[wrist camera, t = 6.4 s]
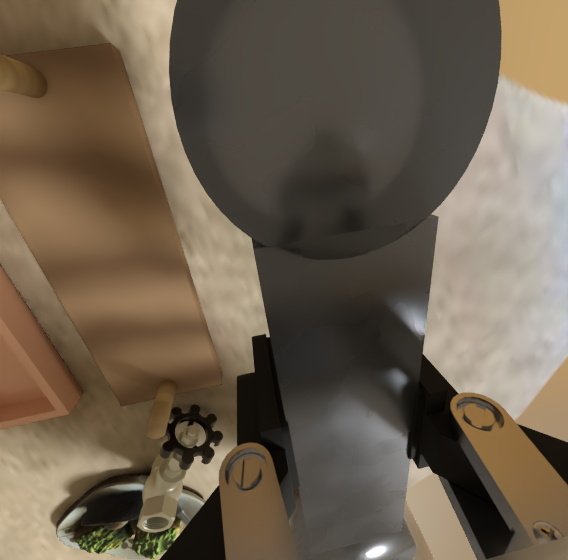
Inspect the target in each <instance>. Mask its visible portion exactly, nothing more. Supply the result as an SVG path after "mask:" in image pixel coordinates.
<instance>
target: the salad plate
mask: <svg viewBox="0 0 568 560" xmlns="http://www.w3.org/2000/svg"><path fill="white" fill-rule="evenodd" d="M148 477H149V475H143V474H130V475H122V476H116V477H113V478H110V479H107V480H105V481H103V482H101V483H100V484H98V485H97V486H95V487H94V488H92V489H91V490H89V491H88V492H87V493H86V494H85V495H84V496H82V497H81V498H80V499H79V500H78V501H76V502H75V503H74V504H73V505H72V506H71V507H70V508H69V509H68V510H67V511H66V512H65V513H64V515H63V516H62V517H61V519H60V520H59V521H58V523H57V529H56V534H57V537H58V538H59V539H60V540H61V541H62V542H63V544H65V545H67V546H69V547H73V548H77V549H81V550H86V551H87V552H89V553H93V552H96V553H98V554H101V553H108V554H111V555H114V556H119V557H123V558H128V559H146V558H150V559H152V558H153V559H155V557H157V556H158V555H161V554H164V553H165V552H166V551H167V550H168V548H169V547H170V546H171V545H172V543H173V542H174V541H175V540H176V538H177V537H178V536H179V535H180V533H181V532H182V531H183V530H184V528H185V527H186V526H187V525H188V523H189V522H190V521H191V520H192V518H193V517H194V516H195V514H196V513H197V512H198V511H199V509H200V508H201V507H202V506H203V504H204V503H205V502H206V501H204V500H203V499H202V498H200V497H199V496H197V495H196V494H194V493H193V492H190V491H187V490H185V489H182V493H181V496H180V498H179V500H178V504H177V510H176V516H175V520H174V522H173V524H172V526H171V527H170V528H168V529H166V530H164V531H161V532H146V531H143V530H141V529H140V528H139V527H137V524H138V520H139V516H140V512H141V509H142V507H143V505H144V504H143V499H142V493H143V488H144V485H145V482H146V480H147V479H148ZM133 534H135V537H134V538H131V536H132V535H133Z"/></svg>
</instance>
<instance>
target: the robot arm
mask: <svg viewBox="0 0 568 560" xmlns="http://www.w3.org/2000/svg"><path fill="white" fill-rule="evenodd" d="M252 344H253V356H254V368H255V372H254V373H249V374H244V375H240V376H237V447H235V448H234V449H233V450H232V451H231V452H229V453H228V454H227V456H226V457H225V459H224V460H223V462H222V465H221V467H220V470H219V486H218V487H217V488H216V489H215V491H214V492H213V493H212V494H211V496H210V497H209V498H208V499H207V501H206V502H205V503H204V504H203V506H202V507H201V508H200V509H199V511H198V512H197V513H196V514H195V516H194V517H193V518H192V520H191V521H190V522H189V523H188V525H187V526H186V527H185V528H184V530H183V531H182V532H181V533H180V535H179V536H178V537H177V538H176V540H175V541H174V542H173V543H172V545H171V546H170V547H169V548H168V550H167V551H166V552H165V553H164V555H163V556H162V557H161V558H160V560H299V558H298V554H297V550H296V546H295V543H294V539H293V535H292V531H291V528H290V524H289V519H290V517H291V515H292V513H293V512H294V510H295V508H296V504H295V495H294V489H293V488H296V487H300V484H299V479H298V473H297V468H296V462H295V457H294V451H293V446H292V440H291V435H290V430H289V424H288V421H287V422H286V419H285V413H284V408H283V403H282V397H281V392H280V387H279V381H278V376H277V371H276V366H275V360H274V355H273V350H272V344H271V339H270V337H268V338H267V337H266V334H264V335H259V336H254V337H252ZM408 459H413V460H414V462H415V464H416V465H417V467H418V469H420V468H424V467H428V466H429V467H430V469H431V470H432V472H433V473H435V474H437V475H439V478H440V481H441V483H442V485H443V487H444V489H445V492H446V494H447V496H448V498H449V500H450V502H451V504H452V507H453V509H454V511H455V513H456V515H457V517H458V519H459V521H460V524H461V526H462V528H463V530H464V532H465V534H466V537H467V539H468V541H469V543H470V545H471V547H472V549H473V551H474V554H475V555H476V558H477V560H568V442H565V441H562V440H559V439H557V438H554V437H551V436H549V435H546V434H543V433H540V432H537V431H535V430H532V429H529V428H527V427H524V426H521V425H518V424H516V422H515V421H514V420H513V419H512V418H511V416H510V415H509V414H508V413H507V412H506V410H505V409H504V408H502V407H501V406H500V405H499V404H498V403H497V402H495V401H493V400H492V399H490V398H488V397H486V396H483V395H480V394H476V393H461V394H458V393H457V392H456V390H455V389H454V388H453V387H452V386H451V385H450V384H449V383H448V382H447V380H446V379H445V378H444V377H443V376H442V375H441V374H440V373H439V372H438V370H437V369H436V368H435V367H434V366H433V365H432V364H431V363H430V361H429V360H428V359H427V358H426V357H425V356H424V355H423V354H422V362H421V370H420V379H419V387H418V392H415V400H414V409H413V418H412V427H411V436H410V445H409V454H408ZM403 517H404V519H405V522H406V524H407V526H408V528H409V531H410V533H411V535H412V537H413V539H414V542H415V544H416V553H415V555H414V557H413V559H412V560H435V559H434V557H433V555H432V553H431V551H430V549H429V547H428V545H427V543H426V541H425V538H424V536H423V534H422V532H421V530H420V528H419V526H418V524H417V522H416V520H415V518H414V516H413V514H412V511H411V509H410V507H409V505H408V503H407V501H406V499H405V507H404V515H403Z"/></svg>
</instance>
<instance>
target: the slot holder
mask: <svg viewBox="0 0 568 560" xmlns="http://www.w3.org/2000/svg"><path fill="white" fill-rule="evenodd" d="M82 394H83V391H82V389H81V388H80V386H79V385H78V383H77V382H76V380H75V378H74V377H73V375H72V374H71V372H70V371H69V369H68V368H67V366H66V365H65V363H64V361H63V360H62V358H61V357H60V355H59V354H58V352H57V351H56V349H55V348H54V346H53V345H52V343H51V341H50V340H49V338H48V337H47V335H46V334H45V332H44V331H43V329H42V328H41V326H40V325H39V323H38V321H37V320H36V318H35V317H34V315H33V314H32V312H31V311H30V309H29V308H28V306H27V305H26V303H25V301H24V300H23V298H22V297H21V295H20V294H19V292H18V291H17V289H16V288H15V286H14V284H13V283H12V281H11V280H10V278H9V277H8V275H7V274H6V272H5V271H4V269H3V268H2V266H1V264H0V429H5V428H9V427H14V426H19V425H23V424H28V423H32V422H37V421H41V420H46V419H51V418H55V417H60V416H64V415H69V414H70V413H71V412H72V410H73V408H74V407H75V405H76V403H77V402H78V400H79V399H80V397H81V395H82Z"/></svg>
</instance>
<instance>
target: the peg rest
mask: <svg viewBox="0 0 568 560" xmlns="http://www.w3.org/2000/svg"><path fill="white" fill-rule="evenodd" d="M0 198H1V200H2V202H3V203H4V205H5V207H6V208H7V210H8V212H9V214H10V215H11V217H12V219H13V221H14V222H15V224H16V226H17V227H18V229H19V231H20V233H21V234H22V236H23V238H24V239H25V241H26V243H27V245H28V246H29V248H30V250H31V251H32V253H33V255H34V257H35V258H36V260H37V262H38V264H39V265H40V267H41V269H42V270H43V272H44V274H45V276H46V277H47V279H48V281H49V282H50V284H51V286H52V288H53V289H54V291H55V293H56V295H57V296H58V298H59V300H60V301H61V303H62V305H63V307H64V308H65V310H66V312H67V313H68V315H69V317H70V319H71V320H72V322H73V324H74V325H75V327H76V329H77V331H78V332H79V334H80V336H81V338H82V339H83V341H84V343H85V344H86V346H87V348H88V350H89V351H90V353H91V355H92V356H93V358H94V360H95V362H96V363H97V365H98V367H99V368H100V370H101V372H102V374H103V375H104V377H105V379H106V381H107V382H108V384H109V386H110V387H111V389H112V391H113V393H114V394H115V396H116V398H117V399H118V401H119V403H120V405H121V406H126V405H131V404H135V403H140V402H144V401H149V400H153V399H155V402H154V405H153V408H152V411H151V414H150V417H149V421H148V424H147V427H146V430H145V435H146V436H147V437H149V438H151V439H159V438H161V437H163V436H164V435H165V433H166V429H167V425H168V421H169V417H170V413H171V408H172V404H173V400H174V396H175V395H176V394H181V393H185V392H190V391H194V390H199V389H204V388H208V387H213V386H217V385H222V371H221V368H220V365H219V361H218V358H217V355H216V352H215V349H214V346H213V343H212V340H211V336H210V333H209V330H208V327H207V324H206V321H205V318H204V314H203V311H202V308H201V305H200V302H199V299H198V296H197V292H196V289H195V286H194V283H193V280H192V277H191V274H190V270H189V267H188V264H187V261H186V258H185V255H184V252H183V248H182V245H181V242H180V239H179V236H178V233H177V230H176V226H175V223H174V220H173V217H172V214H171V211H170V208H169V204H168V201H167V198H166V195H165V192H164V189H163V186H162V182H161V179H160V176H159V173H158V170H157V167H156V164H155V160H154V157H153V154H152V151H151V148H150V145H149V142H148V138H147V135H146V132H145V129H144V126H143V123H142V120H141V116H140V113H139V110H138V107H137V104H136V101H135V98H134V94H133V91H132V88H131V85H130V82H129V79H128V76H127V73H126V69H125V66H124V63H123V60H122V57H121V54H120V51H119V50H118V49H117V48H115V47H114V46H113V45H112V44H110V43H108V44H100V45H91V46H83V47H75V48H66V49H58V50H49V51H41V52H33V53H24V54H16V55H7V56H4V55H2V54H0Z"/></svg>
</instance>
